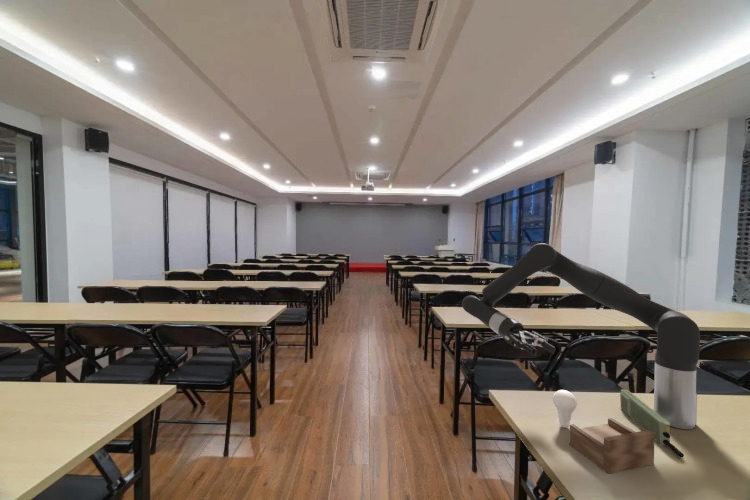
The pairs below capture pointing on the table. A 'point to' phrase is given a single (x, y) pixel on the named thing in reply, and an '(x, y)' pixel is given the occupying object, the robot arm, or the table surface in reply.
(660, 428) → the handheld radio
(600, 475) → the table surface
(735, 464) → the table surface
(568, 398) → the lightbulb
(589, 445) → the stand
